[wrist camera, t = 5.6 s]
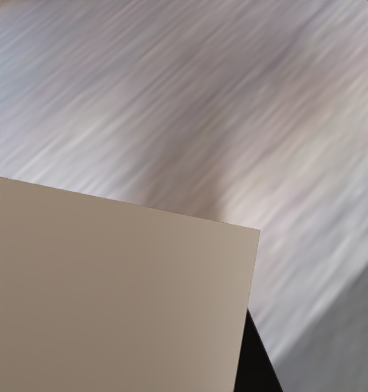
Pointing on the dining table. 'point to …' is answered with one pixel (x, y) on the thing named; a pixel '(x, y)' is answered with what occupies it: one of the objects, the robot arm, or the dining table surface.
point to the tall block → (118, 295)
